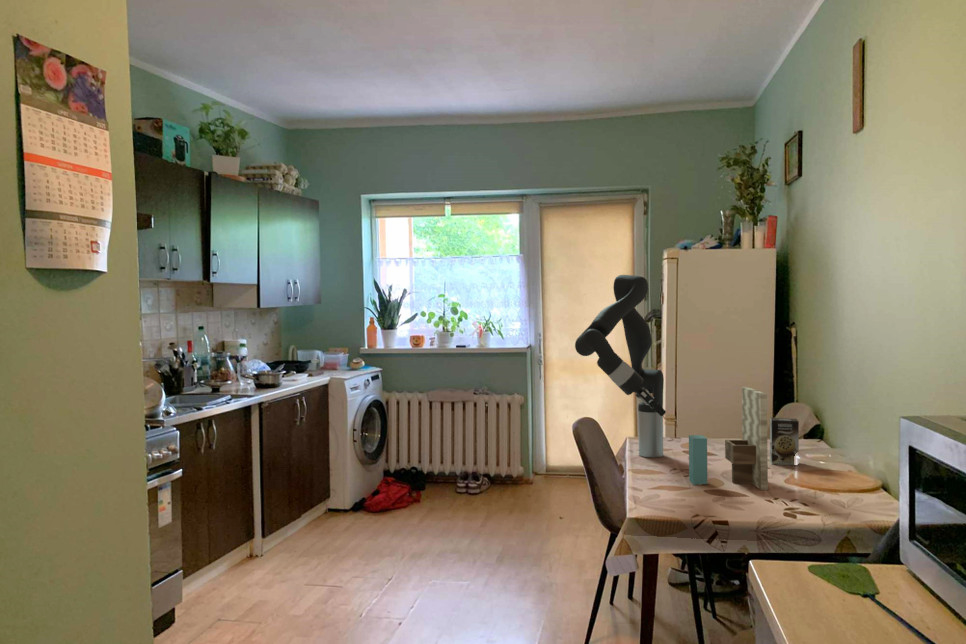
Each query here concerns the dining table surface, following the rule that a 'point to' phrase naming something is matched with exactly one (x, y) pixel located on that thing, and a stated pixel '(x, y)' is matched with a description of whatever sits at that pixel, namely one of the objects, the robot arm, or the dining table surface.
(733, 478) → the ledge stand with backboard
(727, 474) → the dining table surface
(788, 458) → the coffee box
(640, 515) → the dining table surface
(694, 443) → the chunky teal box
